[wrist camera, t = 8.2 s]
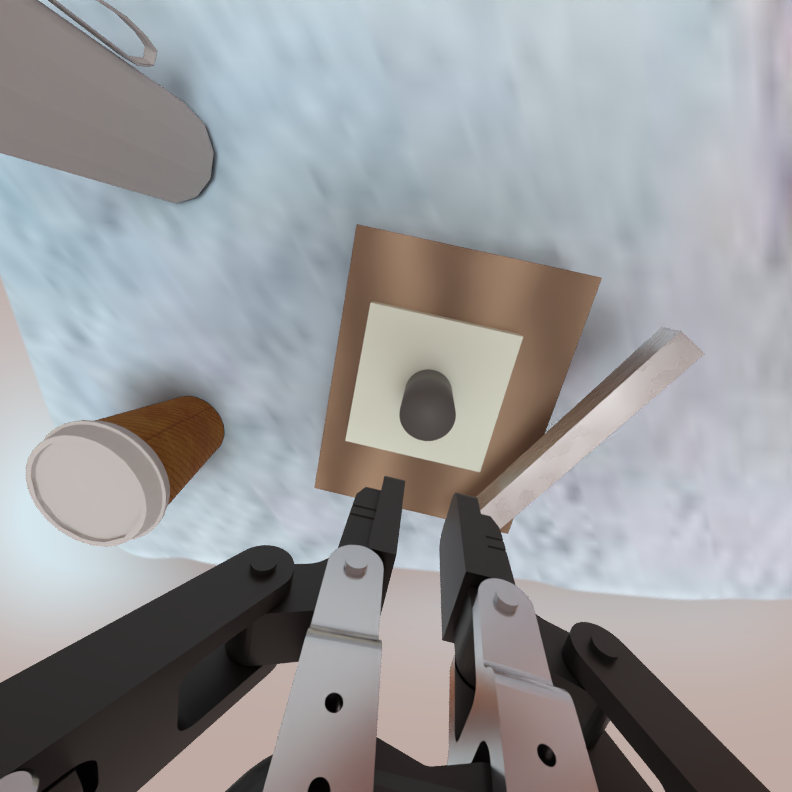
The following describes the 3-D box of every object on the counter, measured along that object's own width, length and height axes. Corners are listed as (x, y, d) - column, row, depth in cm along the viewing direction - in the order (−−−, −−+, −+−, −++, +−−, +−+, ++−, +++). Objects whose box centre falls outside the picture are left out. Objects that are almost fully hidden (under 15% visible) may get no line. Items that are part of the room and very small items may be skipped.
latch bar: (686, 350, 23) (713, 358, 21) (469, 540, 28) (472, 562, 26) (659, 324, 23) (684, 329, 20) (445, 521, 28) (446, 542, 26)
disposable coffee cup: (174, 479, 39) (67, 563, 27) (130, 394, 36) (-9, 448, 25) (256, 457, 37) (177, 537, 26) (215, 367, 35) (107, 411, 23)
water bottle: (203, 226, 31) (-558, 58, 7) (116, 171, 30) (-1035, -213, 7) (248, 112, 28) (-753, -783, 4) (153, 49, 27) (-1627, -1409, 4)
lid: (518, 333, 25) (542, 349, 20) (477, 462, 28) (488, 508, 23) (373, 301, 26) (356, 307, 20) (349, 432, 29) (328, 471, 23)
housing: (569, 277, 29) (612, 277, 22) (495, 492, 36) (511, 546, 29) (371, 234, 30) (352, 220, 23) (333, 454, 36) (308, 498, 29)
